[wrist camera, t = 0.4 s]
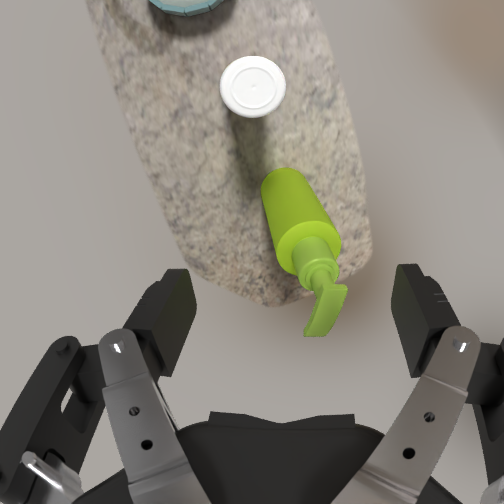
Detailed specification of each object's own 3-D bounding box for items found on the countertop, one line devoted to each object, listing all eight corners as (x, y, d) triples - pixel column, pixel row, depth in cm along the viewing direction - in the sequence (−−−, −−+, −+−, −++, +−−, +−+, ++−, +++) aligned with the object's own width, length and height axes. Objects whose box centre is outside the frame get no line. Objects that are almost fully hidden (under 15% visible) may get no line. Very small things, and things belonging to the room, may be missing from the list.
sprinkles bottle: (262, 98, 31) (284, 120, 20) (220, 97, 31) (218, 119, 20) (265, 59, 29) (289, 58, 18) (222, 57, 28) (220, 54, 17)
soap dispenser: (255, 215, 40) (279, 341, 23) (264, 164, 36) (302, 270, 20) (300, 220, 41) (348, 340, 24) (312, 171, 37) (381, 275, 20)
